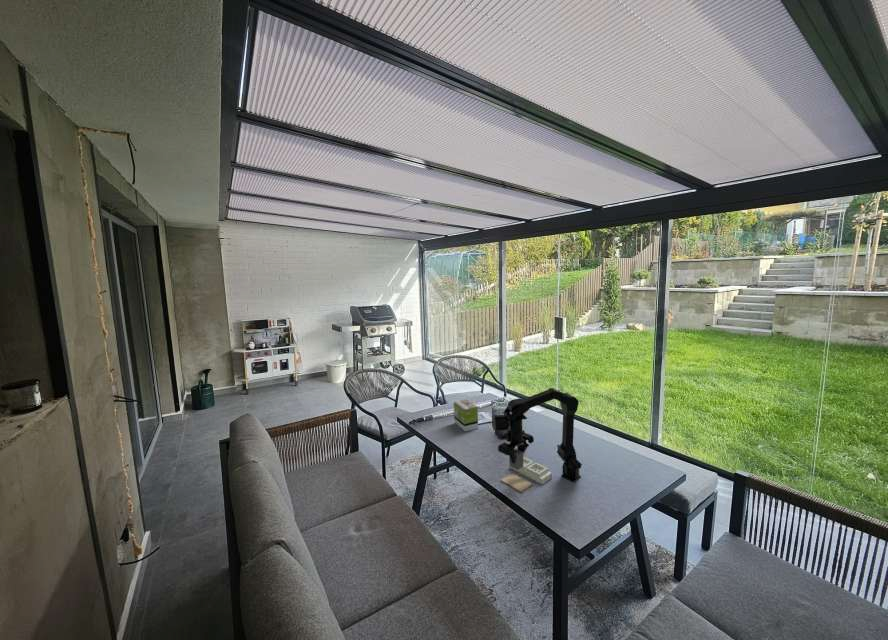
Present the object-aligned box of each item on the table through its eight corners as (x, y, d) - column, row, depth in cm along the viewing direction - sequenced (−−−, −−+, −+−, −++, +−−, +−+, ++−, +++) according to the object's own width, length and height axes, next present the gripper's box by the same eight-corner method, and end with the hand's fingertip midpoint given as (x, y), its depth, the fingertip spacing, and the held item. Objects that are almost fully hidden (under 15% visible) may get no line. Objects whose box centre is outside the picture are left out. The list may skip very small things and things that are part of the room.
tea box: (453, 423, 224) (453, 401, 222) (467, 420, 228) (466, 398, 226) (464, 432, 210) (464, 409, 208) (478, 428, 214) (478, 406, 212)
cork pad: (532, 485, 154) (532, 484, 154) (521, 492, 149) (521, 491, 149) (511, 474, 163) (511, 473, 163) (500, 480, 158) (500, 479, 158)
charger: (523, 466, 155) (523, 451, 154) (517, 470, 152) (517, 455, 151) (515, 462, 158) (515, 448, 157) (509, 466, 155) (509, 451, 155)
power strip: (551, 477, 159) (551, 469, 159) (542, 484, 154) (542, 476, 154) (519, 462, 174) (519, 454, 173) (509, 467, 169) (509, 459, 168)
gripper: (514, 417, 165) (515, 447, 167) (488, 429, 153) (489, 461, 155) (534, 424, 156) (534, 456, 158) (507, 437, 145) (508, 471, 147)
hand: (516, 461), depth 155 cm, fingers closed on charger, 4 cm apart
